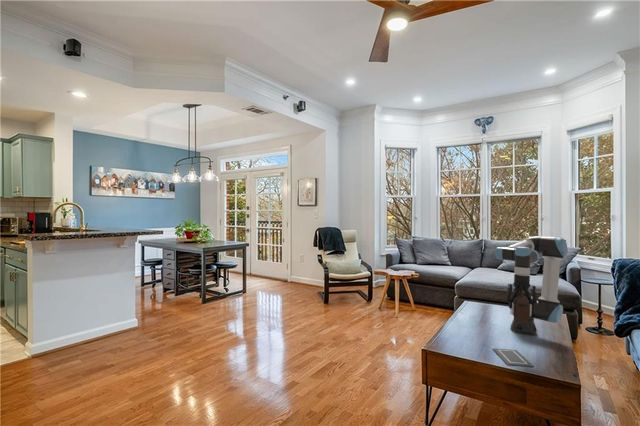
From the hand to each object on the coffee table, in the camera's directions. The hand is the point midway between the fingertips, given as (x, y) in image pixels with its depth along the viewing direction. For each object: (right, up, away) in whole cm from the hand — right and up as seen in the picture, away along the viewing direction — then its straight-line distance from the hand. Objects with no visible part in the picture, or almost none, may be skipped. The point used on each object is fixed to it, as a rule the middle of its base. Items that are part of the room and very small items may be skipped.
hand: (520, 314), depth 188 cm
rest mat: (-7, -22, -4) cm, 24 cm away
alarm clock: (0, -6, 0) cm, 6 cm away
